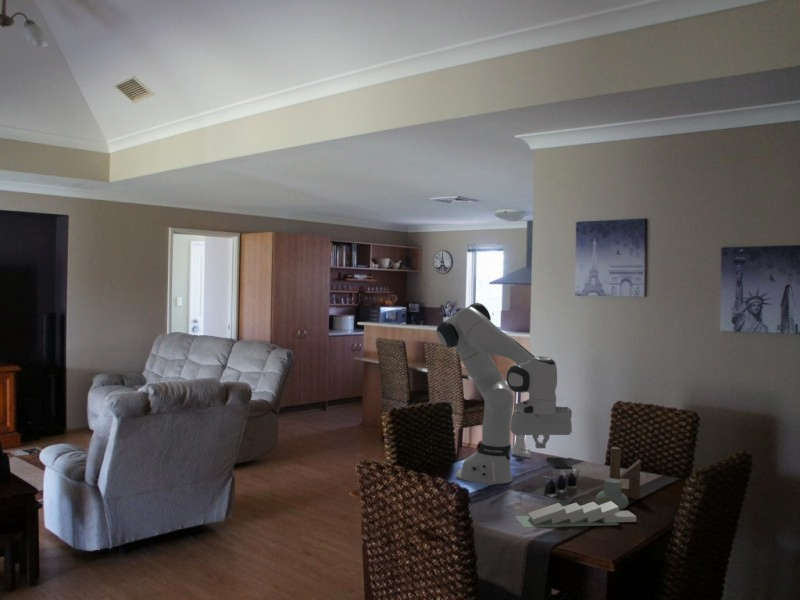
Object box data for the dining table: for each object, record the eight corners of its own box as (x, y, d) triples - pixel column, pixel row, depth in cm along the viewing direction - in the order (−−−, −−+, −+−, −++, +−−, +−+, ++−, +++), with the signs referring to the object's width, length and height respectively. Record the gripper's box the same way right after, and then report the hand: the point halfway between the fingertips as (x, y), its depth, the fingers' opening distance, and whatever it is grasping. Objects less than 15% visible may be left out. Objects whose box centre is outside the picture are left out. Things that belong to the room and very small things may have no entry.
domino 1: (533, 519, 219) (565, 508, 220) (527, 513, 224) (558, 502, 226) (534, 524, 219) (566, 513, 220) (529, 518, 225) (560, 507, 226)
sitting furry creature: (530, 458, 304) (531, 431, 304) (511, 457, 306) (512, 430, 305) (530, 453, 314) (531, 427, 313) (511, 452, 315) (512, 426, 315)
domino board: (524, 530, 216) (524, 527, 216) (514, 519, 226) (514, 516, 226) (618, 527, 221) (619, 524, 221) (605, 516, 231) (605, 513, 231)
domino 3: (569, 518, 221) (600, 507, 222) (563, 512, 226) (593, 501, 228) (571, 523, 221) (602, 512, 222) (564, 517, 227) (594, 506, 228)
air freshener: (630, 508, 241) (631, 480, 240) (625, 515, 233) (626, 486, 233) (599, 502, 246) (600, 475, 246) (593, 508, 239) (594, 480, 239)
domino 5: (604, 517, 223) (636, 516, 224) (597, 511, 228) (628, 510, 230) (604, 522, 223) (636, 521, 224) (597, 516, 228) (627, 515, 230)
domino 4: (587, 517, 222) (618, 506, 223) (580, 511, 227) (610, 500, 228) (589, 523, 222) (619, 511, 223) (582, 516, 227) (612, 505, 229)
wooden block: (639, 499, 251) (641, 451, 250) (608, 496, 253) (610, 448, 252) (638, 496, 254) (640, 448, 253) (608, 493, 257) (610, 446, 256)
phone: (563, 457, 304) (572, 467, 289) (563, 460, 304) (572, 469, 289) (545, 457, 304) (554, 466, 289) (545, 459, 304) (554, 469, 289)
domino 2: (551, 518, 220) (582, 508, 221) (545, 512, 225) (575, 502, 227) (552, 524, 220) (584, 513, 221) (546, 517, 225) (577, 507, 227)
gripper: (568, 404, 229) (566, 445, 230) (509, 404, 226) (508, 445, 226) (575, 408, 223) (574, 450, 223) (516, 408, 219) (514, 450, 220)
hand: (540, 448), depth 225 cm, fingers closed
